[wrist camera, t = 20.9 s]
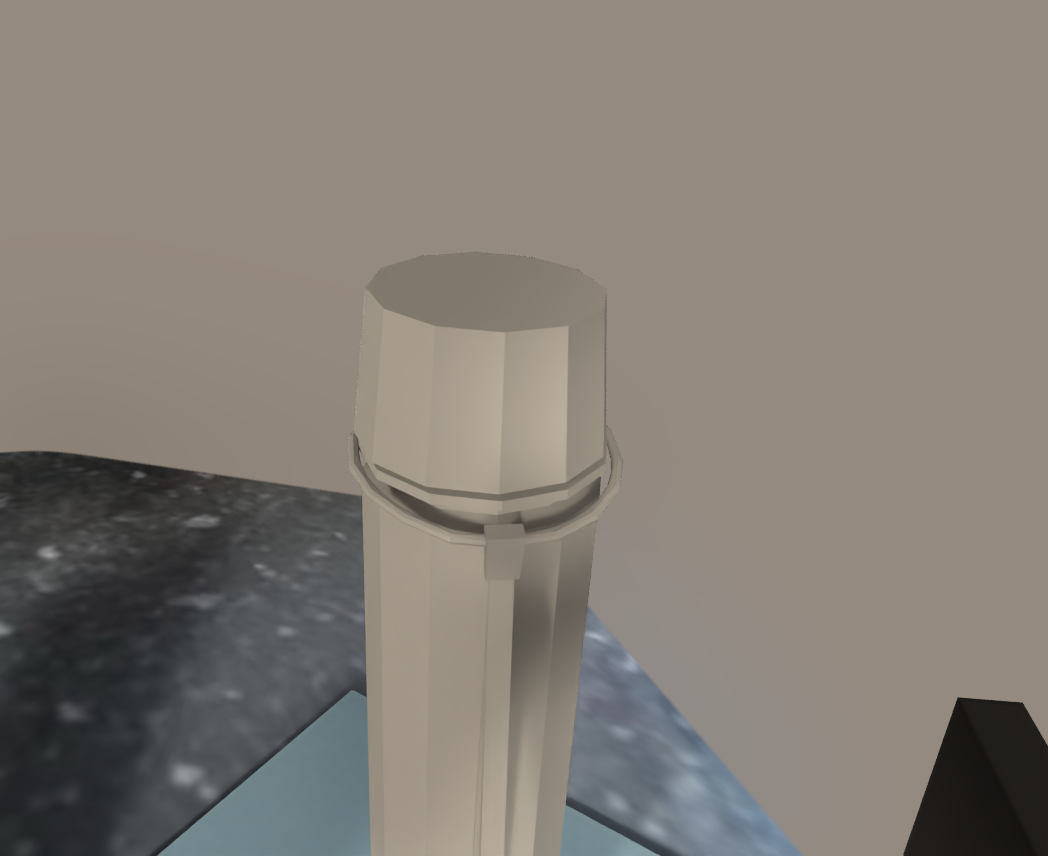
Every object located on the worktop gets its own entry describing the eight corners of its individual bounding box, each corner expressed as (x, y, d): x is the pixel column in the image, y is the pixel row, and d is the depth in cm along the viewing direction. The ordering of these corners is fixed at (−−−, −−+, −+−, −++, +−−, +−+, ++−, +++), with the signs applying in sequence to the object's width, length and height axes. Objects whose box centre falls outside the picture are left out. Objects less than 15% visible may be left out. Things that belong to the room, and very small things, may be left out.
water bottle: (361, 831, 39) (344, 245, 28) (547, 815, 40) (602, 248, 29) (363, 1063, 31) (338, 371, 20) (594, 1033, 32) (696, 368, 21)
